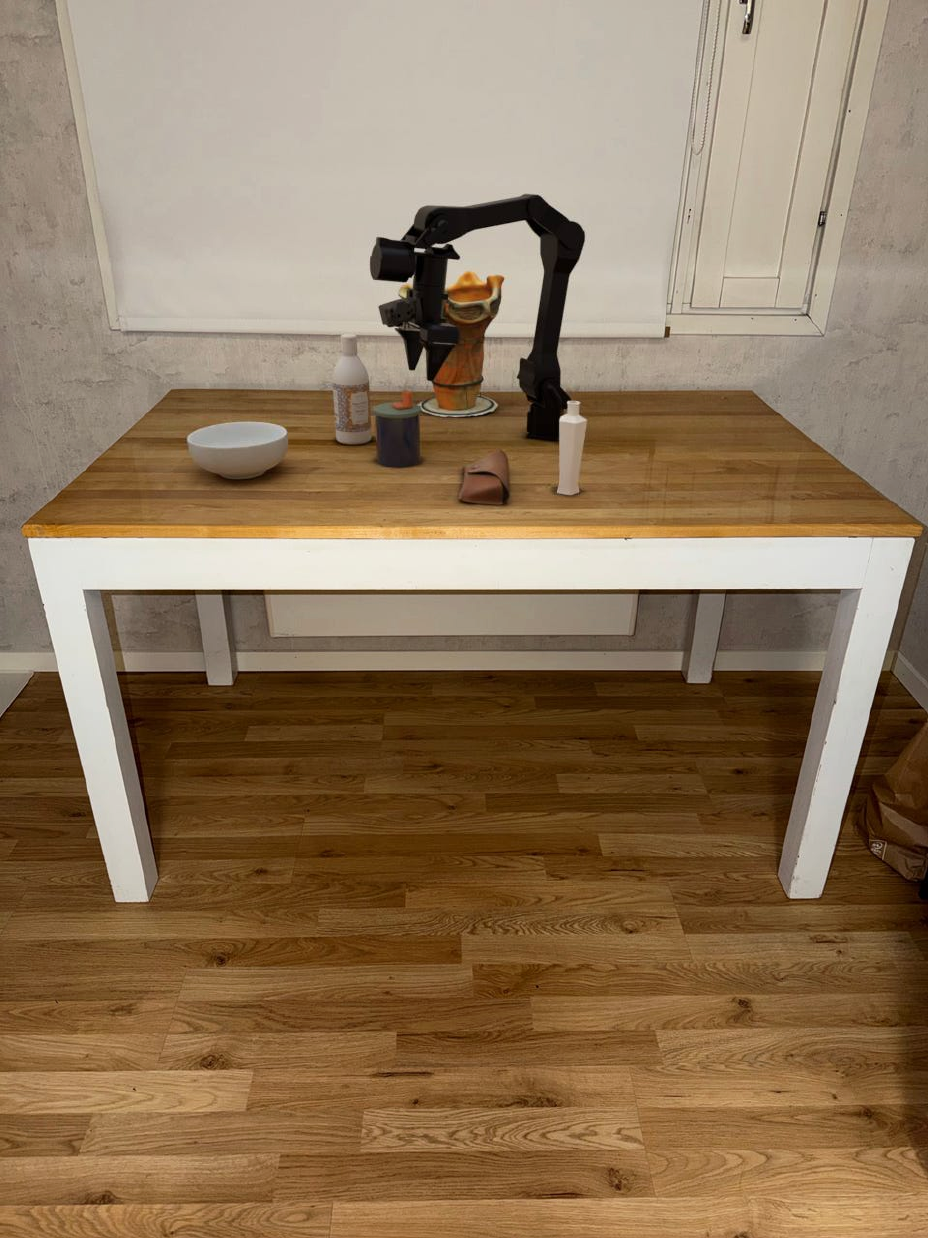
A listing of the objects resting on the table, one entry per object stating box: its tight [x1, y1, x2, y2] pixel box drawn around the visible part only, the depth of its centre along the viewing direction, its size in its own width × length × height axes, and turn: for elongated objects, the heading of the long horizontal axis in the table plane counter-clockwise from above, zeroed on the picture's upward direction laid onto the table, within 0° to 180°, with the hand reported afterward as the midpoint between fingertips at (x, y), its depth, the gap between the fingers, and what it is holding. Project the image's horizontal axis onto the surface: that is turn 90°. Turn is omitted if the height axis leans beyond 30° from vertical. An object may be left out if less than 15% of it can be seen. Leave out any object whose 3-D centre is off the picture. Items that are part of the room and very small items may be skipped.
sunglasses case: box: [458, 448, 511, 506], centre depth 146 cm, size 18×7×7 cm
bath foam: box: [332, 333, 372, 446], centre depth 165 cm, size 7×7×20 cm
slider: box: [391, 389, 413, 410], centre depth 154 cm, size 3×3×3 cm
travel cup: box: [372, 401, 422, 468], centre depth 157 cm, size 9×9×10 cm
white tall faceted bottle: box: [556, 400, 588, 496], centre depth 142 cm, size 5×4×15 cm
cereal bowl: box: [186, 421, 289, 480], centre depth 151 cm, size 17×17×7 cm
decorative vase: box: [397, 270, 505, 418], centre depth 186 cm, size 21×23×28 cm
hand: (420, 375), depth 158 cm, fingers open, 9 cm apart
